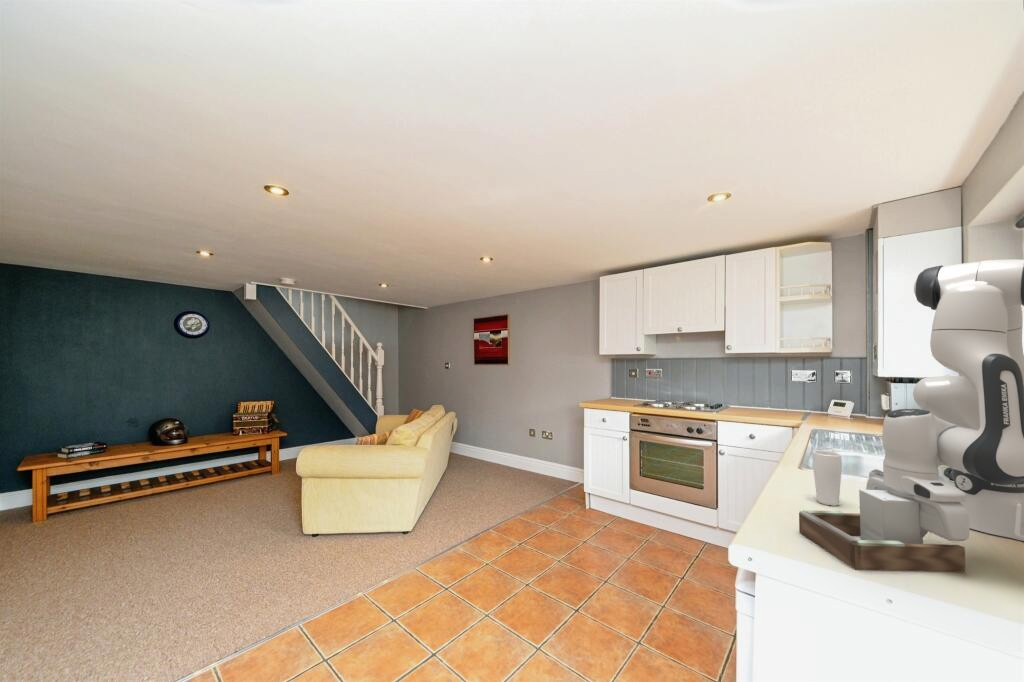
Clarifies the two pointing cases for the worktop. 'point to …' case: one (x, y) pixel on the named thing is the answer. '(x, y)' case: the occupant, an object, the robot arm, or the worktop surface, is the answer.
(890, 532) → the supplement box
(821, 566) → the worktop surface
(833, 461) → the drinking glass
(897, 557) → the wooden serving tray
